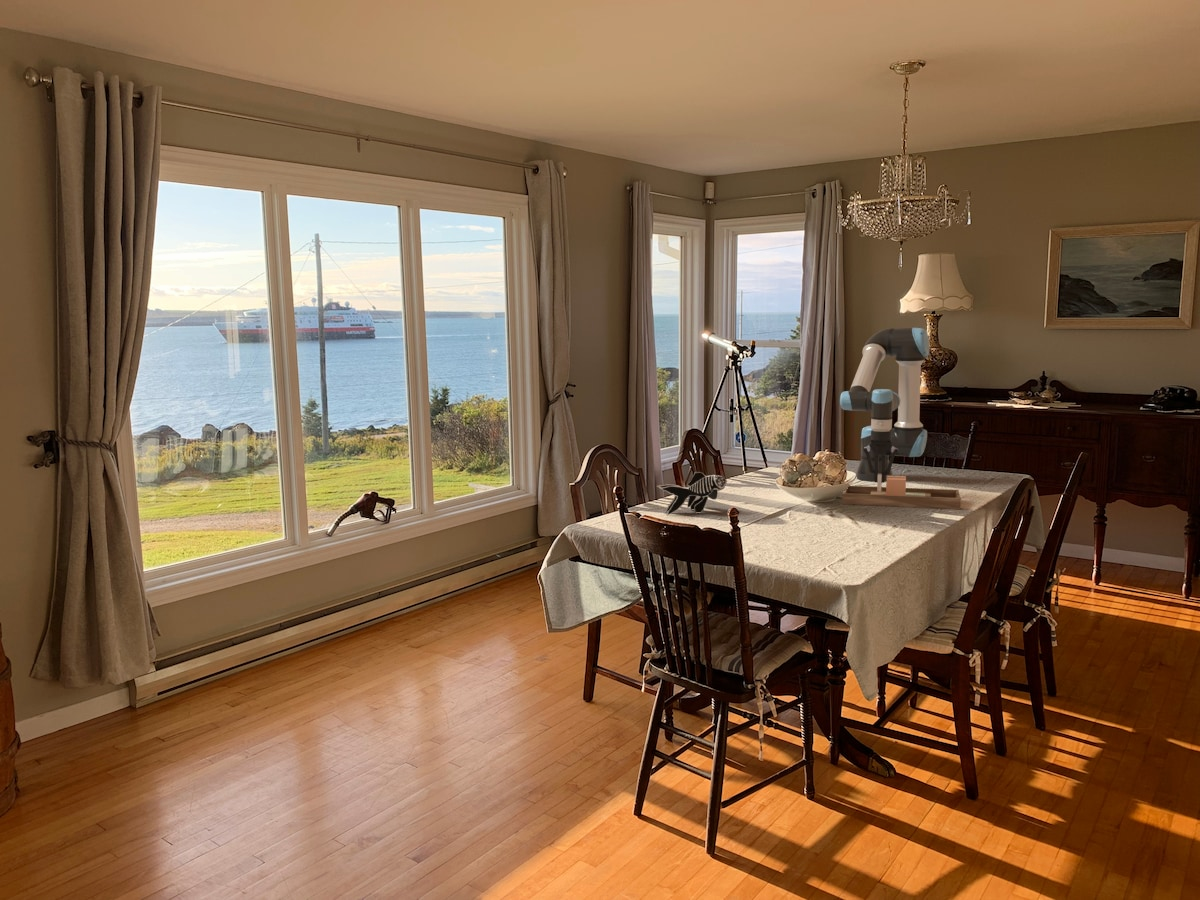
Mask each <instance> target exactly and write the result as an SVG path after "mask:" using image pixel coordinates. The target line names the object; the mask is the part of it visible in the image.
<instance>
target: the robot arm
mask: <svg viewBox="0 0 1200 900" xmlns="http://www.w3.org/2000/svg"><path fill="white" fill-rule="evenodd" d="M861 354H862V358H861V361H860V363H859V365H858V368H857V370H856V373H855V376H854V378H853V380H852V383H851V386H850V389H849V390H847V391H846V390H845V391H842V392H841V394H840V396H839V397H840V398H839V405H840V409H842V410H843V411H853V412H854V411H856V412H858V411H859V412H861V411H862V412H871V422H870V425H867V426H865V427H863V428H862V429H861V436H860V439H861V440H860V462H859V464H858V467H857V471H856V475H855V476H856V477H857V478H856V479H858V480H861V481H866V482H867V481H868V482H874V483H877V484H876V485H877V486H876V487H877V491H879V492H881V487H882V484H883V483H885V482H886V479H887V476H894V474H893V471H892V466H893V464H894V460H895V456H896V457H909V458H915V457H916V458H919V457H921V456H922V455H923V453H924V452H925V449H926V445H927V440H928V430H927V429H924V424H923V423H922V422H921V421H920V414H921V413H920V410H921V409H920V408H921V407H920V405H921V403H920V402H921V375H922V374H921V370H922V367H921V365H922V364H923V363H924V362H925V359H926V357H928V356H929V354H930V338H929V335H928V332H927V331H926V329H925V328H922V327H920V328H919V327H901V328H900V327H899V328H898V327H895V328H892V327H887V328H883V329H881V330H879V331H877V332H876V333H874V334H873V335H871V336H870V337H869V338H868V339H867V341H866V342H865V344H864V346H863V348H862V353H861ZM886 357H895V358H894V359H895V362H896V363H897V364H898V393H897V392H894V391H893V390H892V389H887V388H879V389H877V388H875V389H873V390H872V391H871V389H872V386H873V384H874V382H875V378H876V375H877V373H878V370H879V367H880V365H881V362H882V361H884V360H885V358H886ZM896 410H897V421H896V422H895V423H894V425H893V412H894V411H896ZM892 426H893V427H892Z"/></svg>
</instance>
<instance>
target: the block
mask: <svg viewBox="0 0 1200 900" xmlns="http://www.w3.org/2000/svg"><path fill="white" fill-rule="evenodd" d="M885 482H886V485H885V487H886V495H897V496H905V495H906V488H907V486H906V485H907V476H905V475H893V476H887V479H886V481H885Z"/></svg>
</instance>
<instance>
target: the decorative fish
mask: <svg viewBox="0 0 1200 900" xmlns="http://www.w3.org/2000/svg"><path fill="white" fill-rule="evenodd" d="M727 483H728V480H727V479H726V478H725V477H724V476H722V475H717V474H712V475H705V474H704V472H701V471H699V472H698V471H695V472H694V473H693V475H692V477H691V479H690V481H689V482H688V483H687V485H686V486H687V487H682V486H680V485H677V484H669V483H668V484H659V485H656V487H657V488H658V489H660V490H662V491H663V492H667V493H668V494H670V495H673V496H674V497H673V499H672V500H671V501H670V503H669V504H668V505H667V506H666V508H665V511H663V514H665V516H669V515H671V514H673V513H675V512H677V511H678V510H679V509H680V508H681V507H683V505H684V504H685V503H686V501H687V509H689V508H690V510H691V511H694V513H695V512H701V513H702V512H703V511H704V509H705V507H706V504H707V502H708V499H711V500H713V501H715V500H718V496H719V493H718V492H720V491H722V490H724V489H725V487H726V486H727ZM697 497H698V498H697ZM692 509H694V510H692Z"/></svg>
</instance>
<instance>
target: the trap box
mask: <svg viewBox="0 0 1200 900" xmlns="http://www.w3.org/2000/svg"><path fill="white" fill-rule="evenodd" d="M848 486H849V487H848V489H846V490H845V491H842V496H841V497H842V498H841V503H842V505H853V504H855V505H856V506H857V505H859V506H878V507H879V506H881V507H900V508H903V507H904V508H919V509H920V508H921V509H922V508H923V509H924V508H925V509H942V510H943V509H944V510H961V506H962V505H961V502H962V500H961V494H960V491H959V489H947V488H946V489H944V488H940V489H939V488H921V487H920V488H917V487H906V495H905V496H897V495H886V486H881V492H879V491H877V486H871V485H870V486H869V485H862V486H861V485H848Z"/></svg>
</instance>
